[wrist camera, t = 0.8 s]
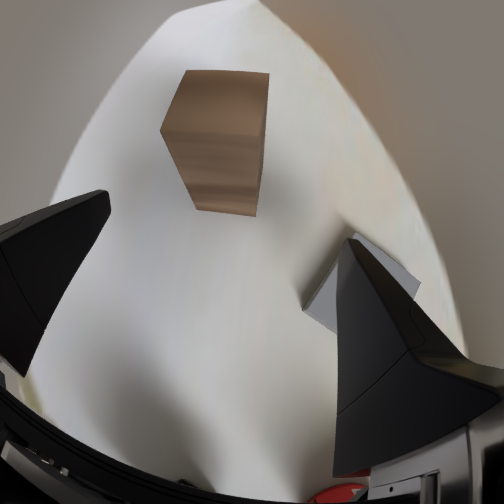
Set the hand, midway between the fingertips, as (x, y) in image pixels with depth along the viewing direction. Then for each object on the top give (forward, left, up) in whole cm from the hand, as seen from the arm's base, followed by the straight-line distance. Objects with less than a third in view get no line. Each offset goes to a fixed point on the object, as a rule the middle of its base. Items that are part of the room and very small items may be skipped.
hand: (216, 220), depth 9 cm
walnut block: (+6, +6, -15) cm, 17 cm away
